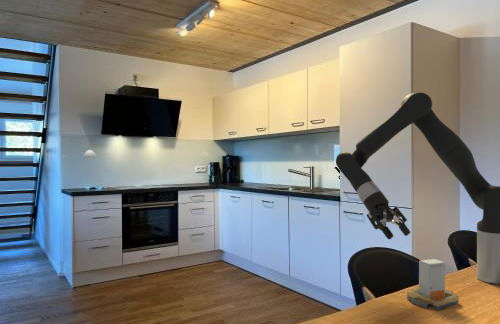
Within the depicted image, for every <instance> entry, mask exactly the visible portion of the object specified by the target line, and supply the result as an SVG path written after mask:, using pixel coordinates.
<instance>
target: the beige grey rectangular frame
mask: <svg viewBox="0 0 500 324" xmlns="http://www.w3.org/2000/svg"><path fill="white" fill-rule="evenodd" d="M406 300H408V301H410V302H411V304H412V305H414V306H415V305H416V306H418V307H421V308H424V309H426V310H427V309H432V310H435V311H438V312H440V311H442V310H445V309H448V308H450V307H453V306H456V305H459V302H460V301H459V300H460V299H459V294H456V293H454V292H453V291H451V290H448V289H446V288H445V298H443V299H440V300H435V299H432V298H429V297H426V296H423V295H420V294H419V287H418V288H415V289H410V290H407V291H406Z"/></svg>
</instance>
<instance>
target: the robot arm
mask: <svg viewBox="0 0 500 324" xmlns="http://www.w3.org/2000/svg"><path fill="white" fill-rule="evenodd" d="M400 105H401V106H400V107H399V108H398V109H397V110H396V111H395V112H394V113H393V114H392V115H391V116H390V117H389V118H387V119H386V120H385V121H384V122H382V123H380V124H379V125H378V126H376V127H375V128H373V129H372V130H371V131H369V132H368V133H367V134H366V135H365V136H364V137H362V138H361V139H360V140H359V141H358V142H357V143H356V144H355V148H356V149H355V150H354V151H352V153H351V152H348V151H343V152H339V154H337V156H336V158H335V164H336V167H337V168H338V170H339V171H340V172H341V173H342V174H343V176H344V177H345V178H346V180H348V182H349V183H350V185H351V186H352V189H354V191H355V192H356V193H357V196H358V198H359V199H360V201H361V202H362V204H363V205H364V207H365V208H366V210H367V212H368V213H367V214H366V217H367V219H368V220H369V223H371V225H372V227H373V228H374V229H375V230H378V229H379V231H381V232H382V233H383V235H384V237H385V238H387V240H392V238H393V237H394V234H393V232H392V231H391V230H390V228H389V227H388V226H387V223H391V224H393V225H396V226H397V227H398V229H399V230H400V231H401V232H402V234H403V235H404V237H405V236H407V237H408V235H410V234H411V231H410V229H409V228H408V226H407V225H406V224H405V223H406V222H407V221H408V219H407V218H406V216H405V215H404V213H402V211H401V210H400V209H399V208H398V206H395V207H393V208H391V207H390V206H389V203H390V201H389V200H388V199H387V196H385V195H384V193H383V192H382V190H381V189H380V188H379V186H378V185H377V184H376V183H375V182H374V181H373V180H372V178H371V177H370V175H369V174H368V173H367V172H366V171H365V170H364V169H363V167H364V165H365V164H366V163H367V162H368V160H369V159H370V157H372V156H373V155H374V154H376V153H377V152H378V151H379V150H380V149H382V148H383V147H384V146H386V144H387V143H389V142H390V141H391V140H392V139H393V138H394V137H396V135H398V134H399V133H401V132H402V131H403V130H404V129H406V128H407V127H409V126H410V125H411V124H414V126H415V127H417V129H418V130H419V131H420V132H421V133H422V135H423V136H424V138H425V139H426V141H427V142H428V143H429V145H430V147H431V149H433V151H434V152H435V154H436V155H437V156H438V157H439V159H440V160H441V161H442V162H443V163H444V164H445V166H446V167H447V168H448V169H449V171H450V172H451V173H452V174H453V176H454V177H455V178H456V179H457V180H458V181H459V182H460V184H461V186H463V188H464V190H465V191H466V192H467V194H468V196H469V198H470V199H471V200H472V202H473V203H474V205H476V207H477V208H479V209H480V210H483V211H482V219H481V220H479V221H478V222H477V223H476V246H477V247H476V278H477V279H478V280H479V281H482V282H484V283H488V284H497V285H500V185H492V184H490V183H489V182H488V181H487V180H486V178H485V177H484V176H483V175H482V174H481V173H480V171H479V169H478V168H477V165H476V161H475V158H474V156H473V153H472V152H471V149H470V148H469V147H468V146H467V144H466V143H465V142H464V141H463V140H462V138H460V137H459V135H458V134H456V133H455V132H454V131H453V130H452V129H451V128H450V127H449V126H447V125H446V124H445V123H444V122H443V121H441V119H440V118H439V117H438V116H437V114H436V113H435V111H434V110H433V109H432V107H433V101H432V98H431V96H429V95H428V94H426V93H425V92H421V91H416V92H412V93H409V94H407V95H405V96H404V97H403V99H402V101H401V104H400Z"/></svg>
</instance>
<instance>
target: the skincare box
mask: <svg viewBox="0 0 500 324" xmlns="http://www.w3.org/2000/svg"><path fill="white" fill-rule="evenodd" d="M418 264H419V265H418V288H419V294H420V295H423V296H426V297H429V298H432V299H435V300H440V299H443V298H445V289H446V263H445V262H444V261H442V260H439V259H437V258H432V259H422V260H419V261H418Z"/></svg>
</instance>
